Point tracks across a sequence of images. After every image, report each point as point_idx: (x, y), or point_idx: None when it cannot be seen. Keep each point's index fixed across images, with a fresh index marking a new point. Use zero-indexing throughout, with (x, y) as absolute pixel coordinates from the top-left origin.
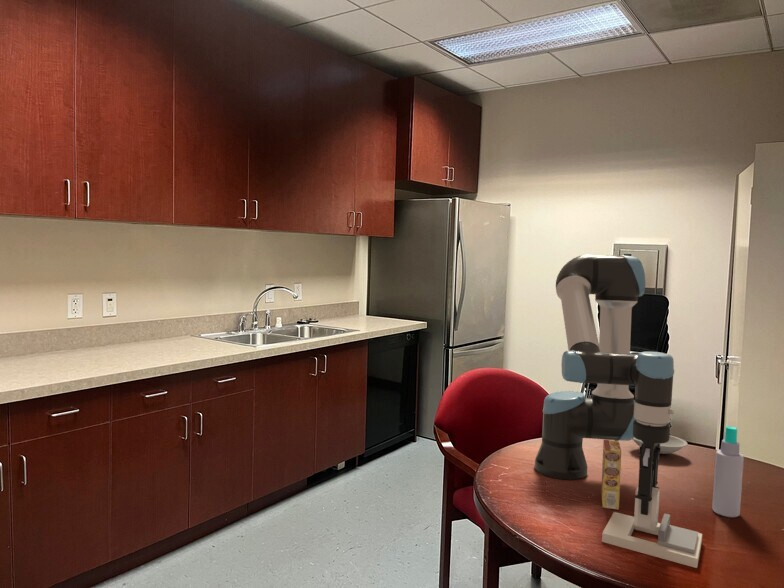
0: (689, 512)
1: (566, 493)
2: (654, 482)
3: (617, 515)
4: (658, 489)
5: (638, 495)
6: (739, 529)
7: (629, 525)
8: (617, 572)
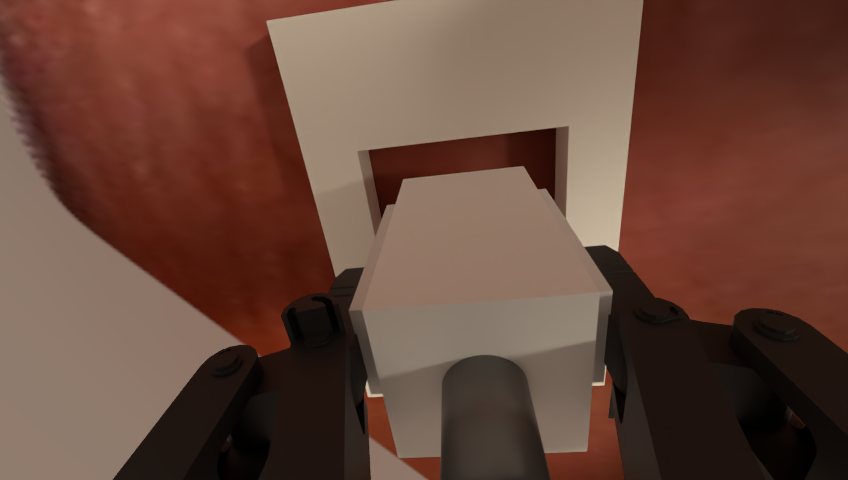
0: None
1: None
2: (623, 463)
3: (592, 7)
4: (559, 447)
5: (194, 383)
6: None
7: (485, 121)
8: (102, 181)
